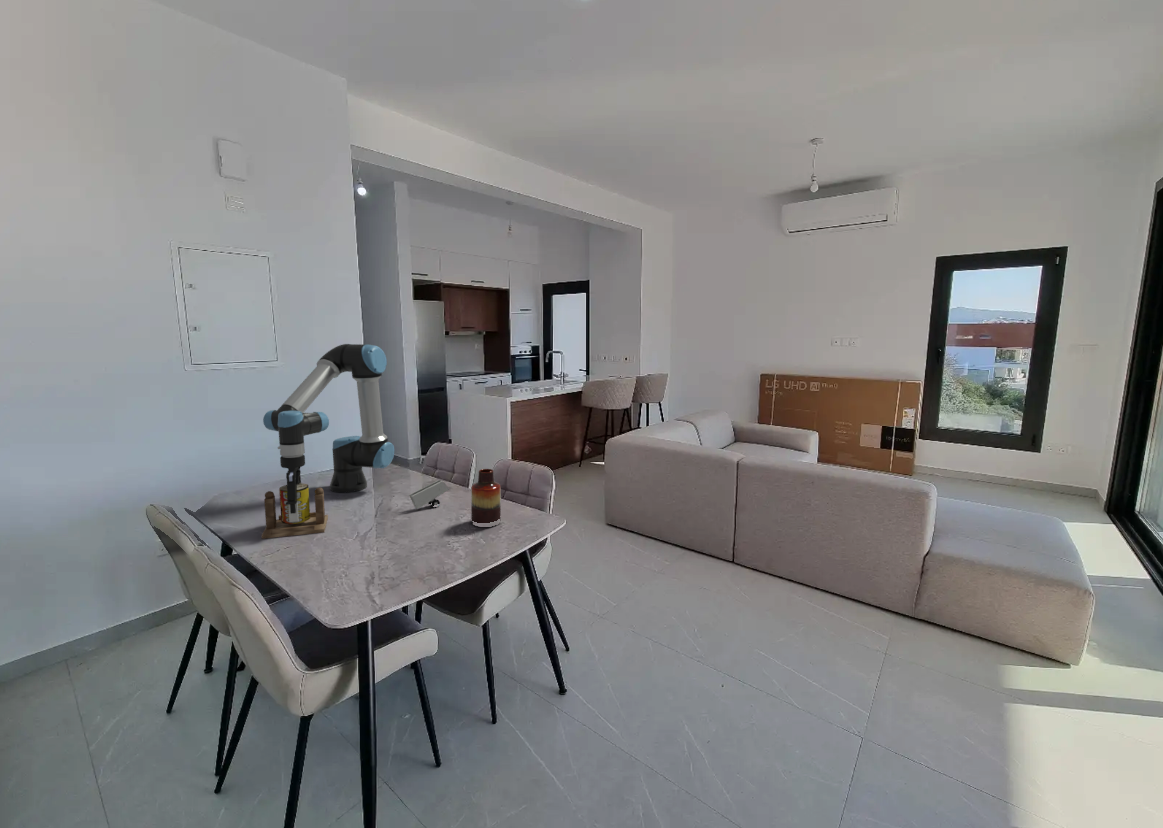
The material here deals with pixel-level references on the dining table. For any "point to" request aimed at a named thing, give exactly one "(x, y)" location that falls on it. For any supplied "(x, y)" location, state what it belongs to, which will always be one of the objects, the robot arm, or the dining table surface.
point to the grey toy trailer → (428, 494)
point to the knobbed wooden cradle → (308, 527)
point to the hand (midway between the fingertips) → (296, 516)
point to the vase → (485, 498)
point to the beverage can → (301, 500)
